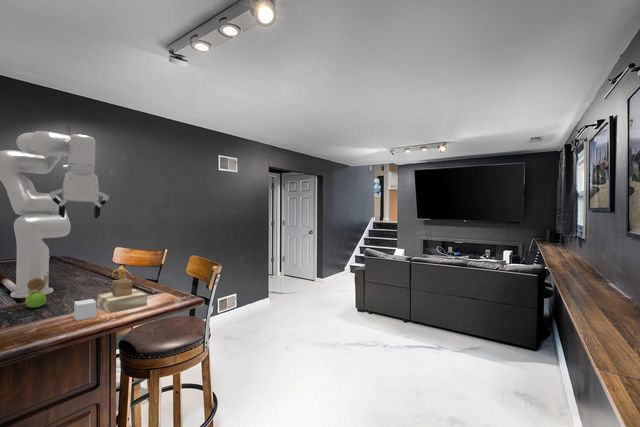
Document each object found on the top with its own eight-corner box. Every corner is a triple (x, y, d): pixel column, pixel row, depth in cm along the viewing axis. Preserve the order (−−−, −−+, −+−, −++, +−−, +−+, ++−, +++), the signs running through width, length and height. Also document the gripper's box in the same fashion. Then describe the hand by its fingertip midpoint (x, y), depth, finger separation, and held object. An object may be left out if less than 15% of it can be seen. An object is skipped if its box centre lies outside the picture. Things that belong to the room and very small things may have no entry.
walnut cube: (112, 294, 114) (112, 280, 114) (127, 291, 118) (127, 278, 118) (116, 297, 111) (116, 283, 111) (132, 294, 115) (132, 281, 115)
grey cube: (74, 316, 102) (74, 301, 102) (92, 313, 105) (93, 298, 105) (76, 321, 98) (77, 305, 98) (96, 317, 102) (96, 302, 102)
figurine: (136, 292, 132) (137, 264, 132) (128, 296, 126) (129, 266, 126) (116, 292, 132) (117, 263, 132) (107, 296, 126) (108, 266, 125)
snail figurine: (53, 305, 112) (53, 272, 112) (31, 310, 106) (32, 275, 106) (42, 303, 114) (43, 270, 114) (21, 308, 108) (22, 273, 108)
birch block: (96, 307, 113) (97, 294, 113) (132, 300, 123) (132, 288, 123) (109, 314, 106) (110, 301, 106) (146, 306, 116) (147, 294, 116)
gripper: (51, 166, 104) (49, 218, 104) (112, 172, 116) (110, 218, 117) (48, 167, 109) (46, 216, 109) (107, 173, 121) (105, 217, 122)
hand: (79, 217), depth 113 cm, fingers open, 9 cm apart
